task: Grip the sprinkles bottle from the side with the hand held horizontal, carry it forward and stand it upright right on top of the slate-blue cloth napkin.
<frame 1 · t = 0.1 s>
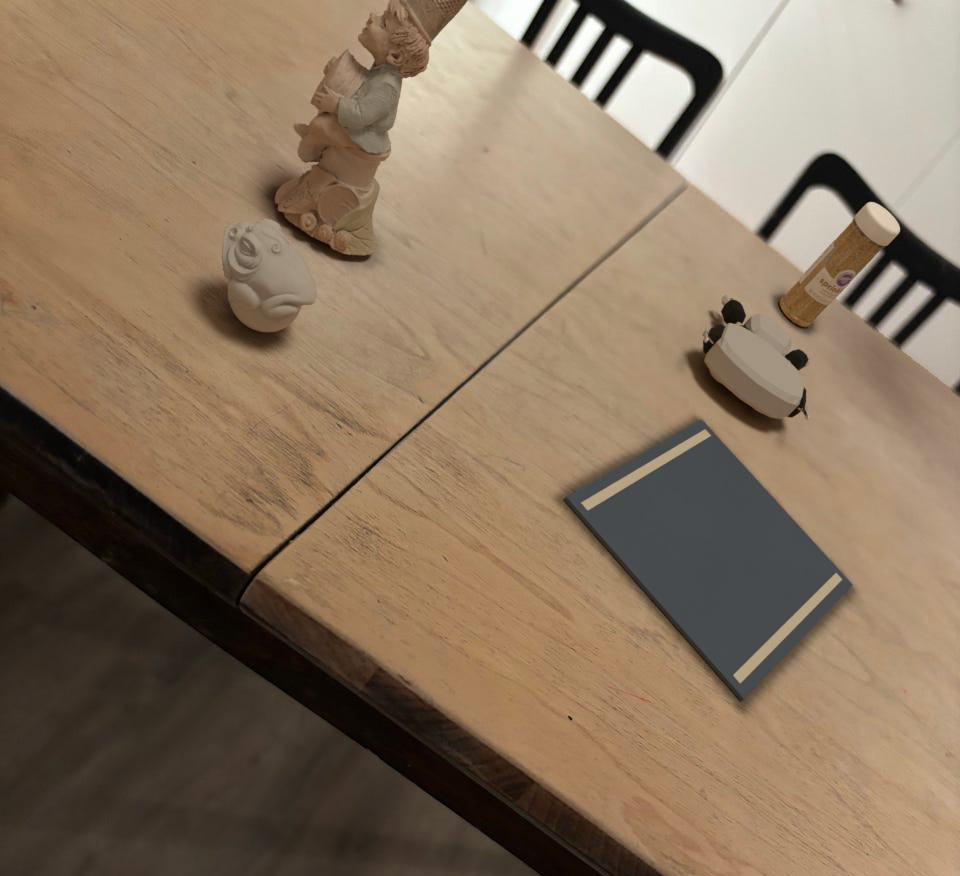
figurine: (322, 222, 78), on the table
robot toy: (740, 376, 97), on the table
frog figurine: (250, 320, 69), on the table
napkin: (717, 546, 81), on the table
sprinkles bottle: (792, 315, 110), on the table
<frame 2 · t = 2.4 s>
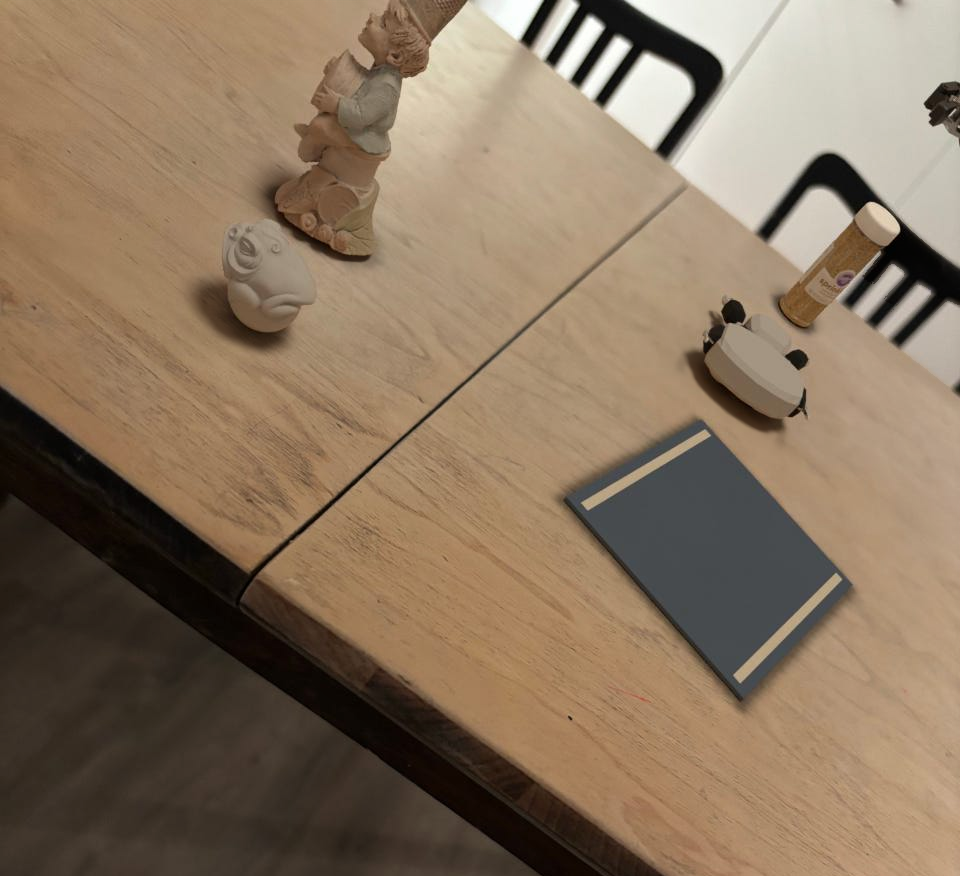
nothing on the table moved.
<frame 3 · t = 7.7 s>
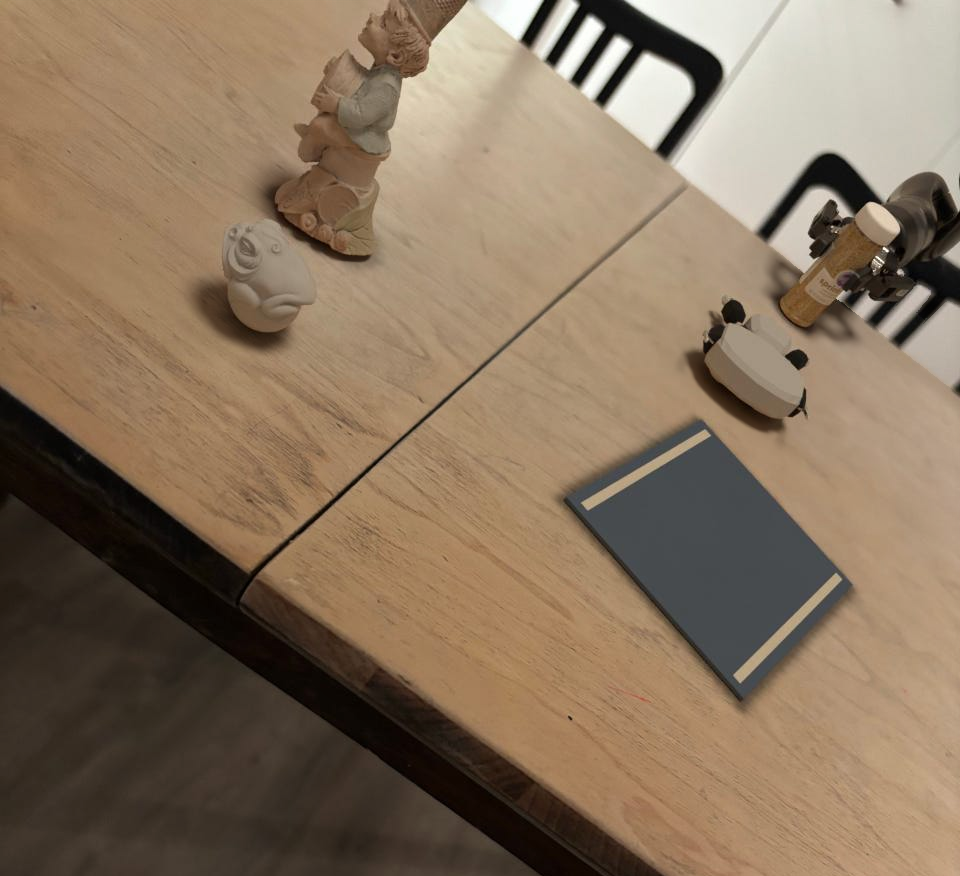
hand: (834, 266, 103), 7 cm above the table, tool horizontal, fingers closed on sprinkles bottle, 4 cm apart
sprinkles bottle: (792, 315, 110), on the table, touching gripper
everything else where it was.
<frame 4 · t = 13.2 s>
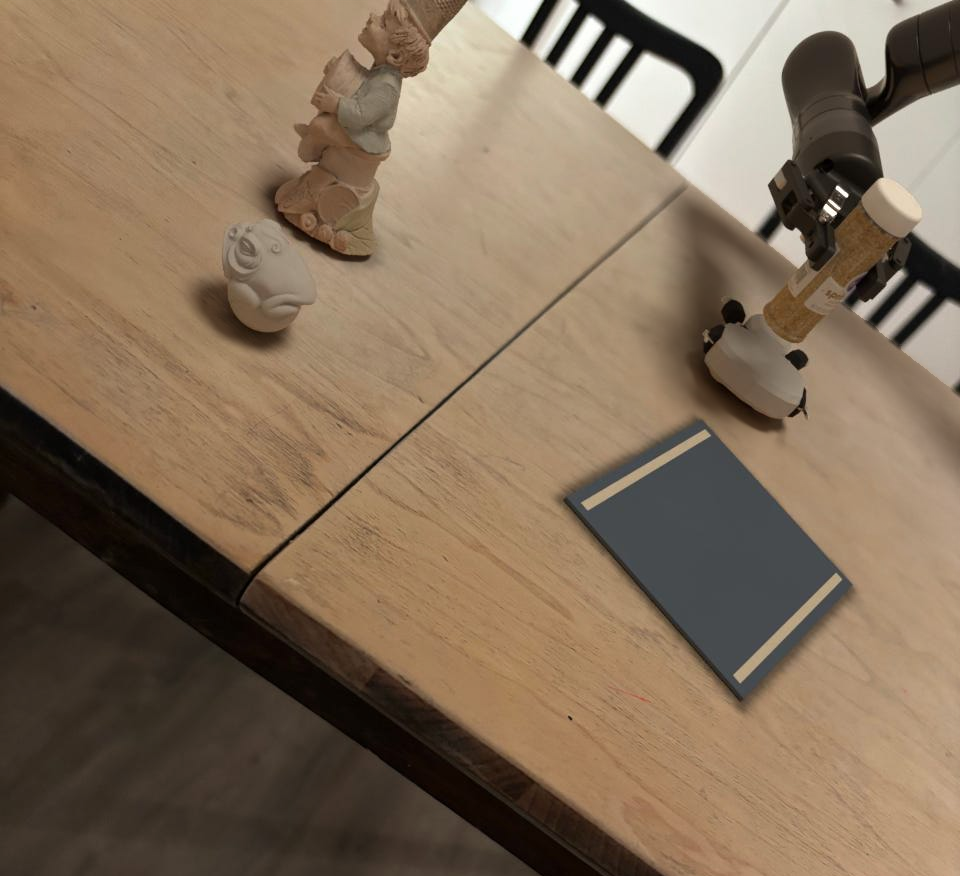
hand: (847, 276, 77), 17 cm above the table, tool horizontal, fingers closed on sprinkles bottle, 4 cm apart
sprinkles bottle: (779, 327, 84), point 10 cm above the table, touching gripper
everything else where it was.
when the fingers open (8 cm above the table, at t = 18.7 s): sprinkles bottle stays where it is, resting on napkin.
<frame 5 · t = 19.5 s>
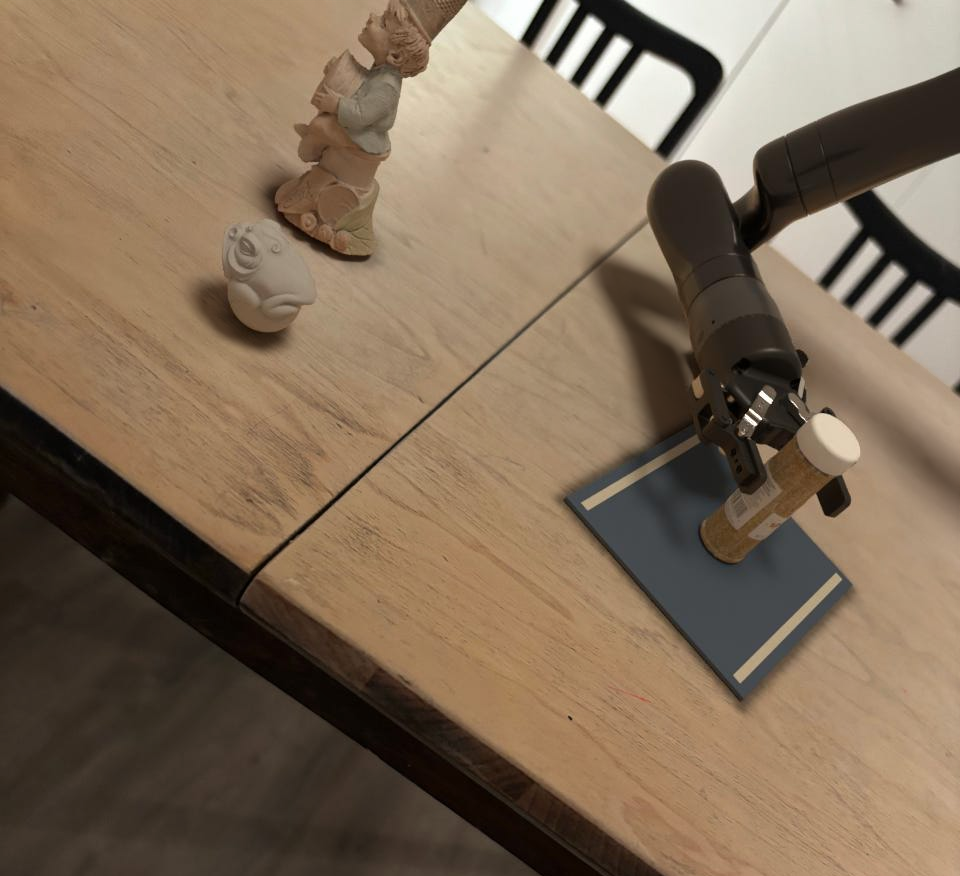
hand: (798, 499, 73), 9 cm above the table, tool horizontal, fingers open, 8 cm apart
sprinkles bottle: (718, 543, 80), resting on napkin
everything else where it was.
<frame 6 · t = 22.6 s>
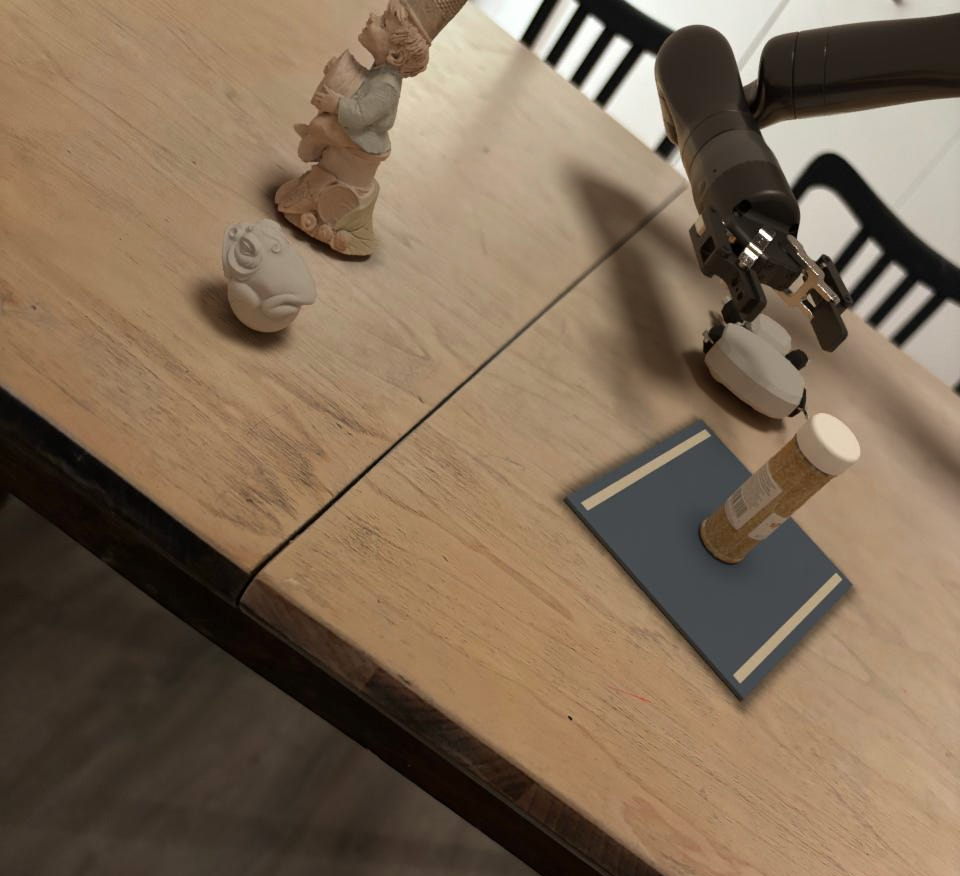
hand: (797, 329, 76), 14 cm above the table, tool horizontal, fingers open, 8 cm apart
nothing on the table moved.
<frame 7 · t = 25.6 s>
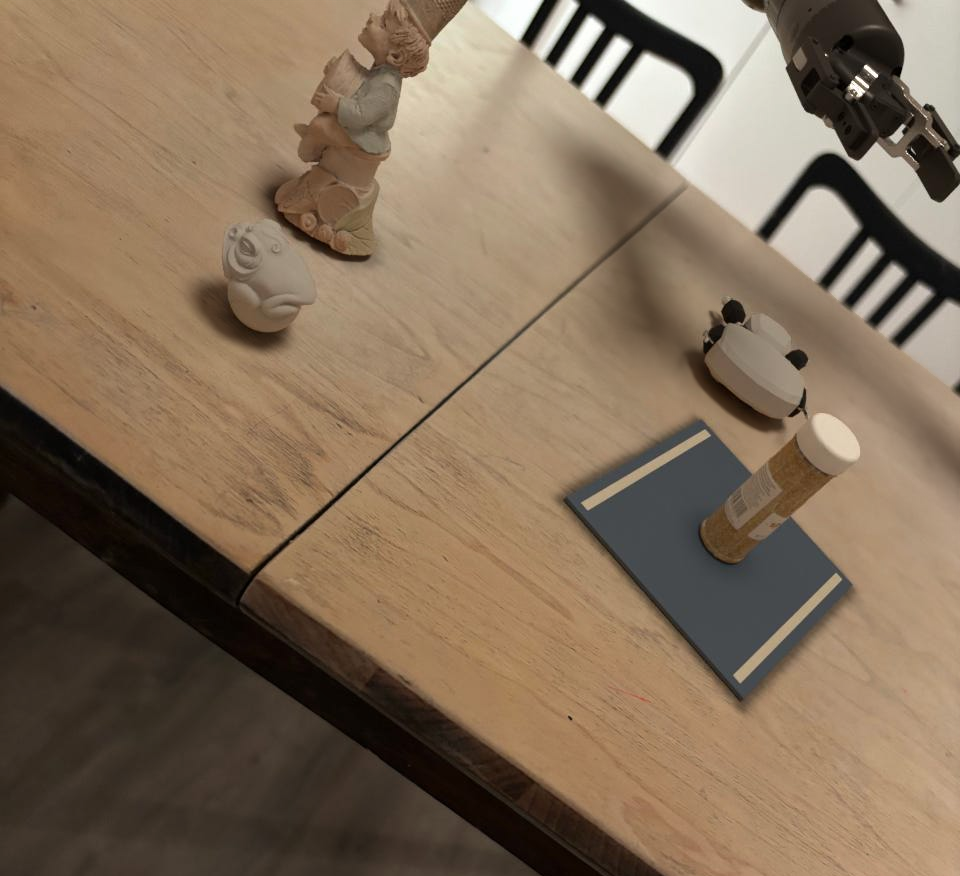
hand: (908, 170, 69), 26 cm above the table, tool horizontal, fingers open, 8 cm apart
nothing on the table moved.
at the end: sprinkles bottle inside the target area on the napkin (0.2 cm from its centre), point 0.2 cm above the napkin's base; sprinkles bottle tilted 0°; the gripper is holding nothing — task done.
